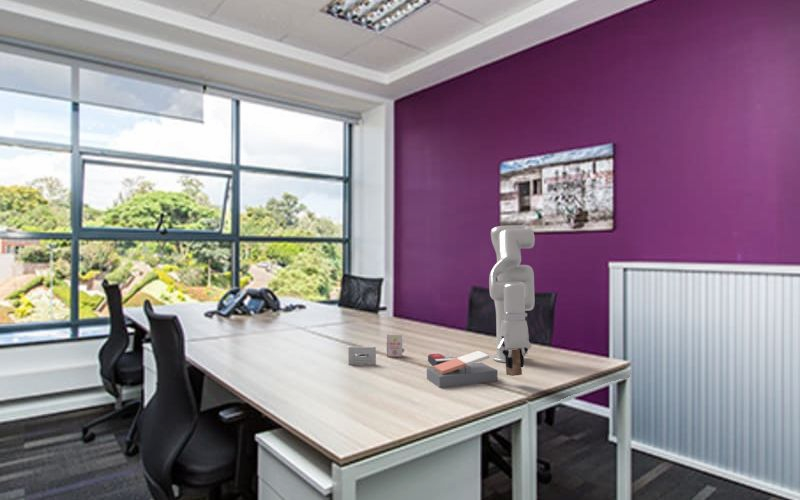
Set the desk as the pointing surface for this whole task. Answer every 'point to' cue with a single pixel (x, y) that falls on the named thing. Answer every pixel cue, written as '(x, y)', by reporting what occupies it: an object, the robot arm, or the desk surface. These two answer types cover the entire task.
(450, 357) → the calculator
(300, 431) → the desk surface
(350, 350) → the cassette
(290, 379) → the desk surface
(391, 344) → the white cardboard box
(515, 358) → the peg
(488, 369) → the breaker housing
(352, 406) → the desk surface
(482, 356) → the breaker rocker
